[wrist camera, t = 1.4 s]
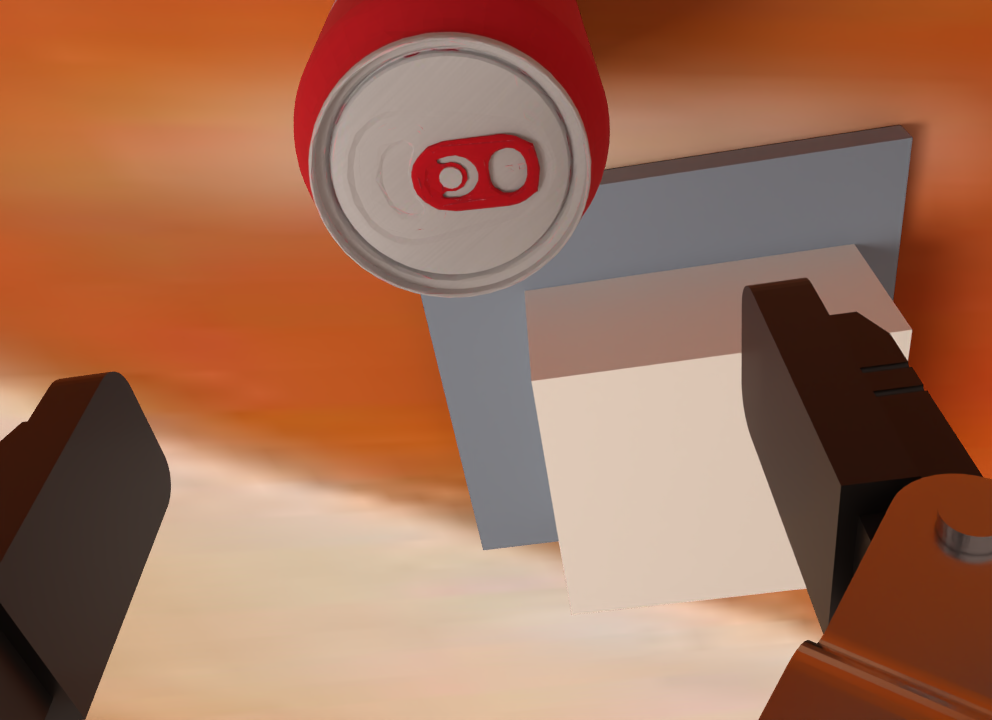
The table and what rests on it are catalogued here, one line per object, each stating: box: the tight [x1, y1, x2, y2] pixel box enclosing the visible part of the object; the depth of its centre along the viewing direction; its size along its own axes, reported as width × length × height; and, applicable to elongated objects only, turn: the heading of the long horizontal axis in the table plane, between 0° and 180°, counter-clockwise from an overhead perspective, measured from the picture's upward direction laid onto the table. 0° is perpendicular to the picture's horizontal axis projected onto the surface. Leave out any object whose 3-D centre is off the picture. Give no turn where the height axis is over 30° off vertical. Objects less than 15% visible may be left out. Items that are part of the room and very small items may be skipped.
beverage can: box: [294, 0, 610, 298], centre depth 21 cm, size 6×6×12 cm
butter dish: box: [421, 125, 913, 615], centre depth 32 cm, size 16×16×6 cm
